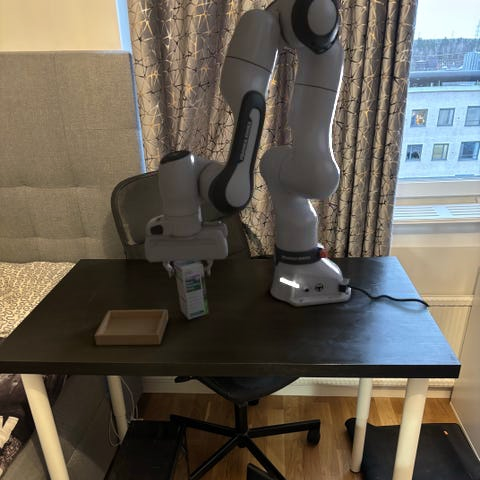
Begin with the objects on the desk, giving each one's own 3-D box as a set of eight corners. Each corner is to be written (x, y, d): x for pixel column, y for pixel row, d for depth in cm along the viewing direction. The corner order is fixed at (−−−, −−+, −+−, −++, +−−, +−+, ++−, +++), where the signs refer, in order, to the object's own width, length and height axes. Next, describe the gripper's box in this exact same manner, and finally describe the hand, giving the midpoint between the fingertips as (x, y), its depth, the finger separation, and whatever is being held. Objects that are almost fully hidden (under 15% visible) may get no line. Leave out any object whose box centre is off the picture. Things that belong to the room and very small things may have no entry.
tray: (168, 318, 131) (167, 309, 129) (159, 344, 120) (158, 334, 118) (110, 319, 131) (108, 310, 130) (96, 345, 120) (94, 335, 119)
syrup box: (188, 320, 127) (181, 268, 120) (180, 310, 132) (173, 260, 124) (209, 314, 129) (203, 263, 122) (200, 305, 134) (194, 255, 127)
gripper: (227, 216, 120) (231, 268, 127) (144, 220, 121) (152, 271, 128) (225, 225, 115) (230, 279, 122) (138, 229, 116) (147, 282, 123)
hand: (189, 275), depth 125 cm, fingers closed on syrup box, 7 cm apart
